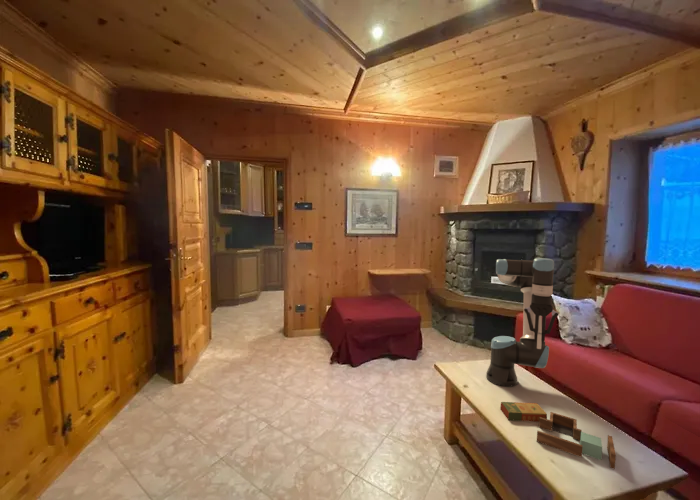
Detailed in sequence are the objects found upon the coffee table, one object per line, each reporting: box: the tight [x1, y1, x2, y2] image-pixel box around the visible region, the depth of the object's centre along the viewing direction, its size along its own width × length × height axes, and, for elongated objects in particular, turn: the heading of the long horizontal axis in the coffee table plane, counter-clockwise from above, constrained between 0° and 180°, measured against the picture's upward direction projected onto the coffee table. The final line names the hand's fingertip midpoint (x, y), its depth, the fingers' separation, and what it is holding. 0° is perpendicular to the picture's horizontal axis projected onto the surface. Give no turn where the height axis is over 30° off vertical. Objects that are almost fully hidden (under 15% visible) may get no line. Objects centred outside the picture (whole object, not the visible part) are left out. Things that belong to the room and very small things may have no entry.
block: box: [579, 431, 603, 461], centre depth 114 cm, size 6×6×5 cm
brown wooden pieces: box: [536, 411, 617, 470], centre depth 120 cm, size 19×23×5 cm
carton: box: [499, 401, 548, 423], centre depth 136 cm, size 8×16×4 cm, turn 86°
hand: (539, 347), depth 135 cm, fingers closed
